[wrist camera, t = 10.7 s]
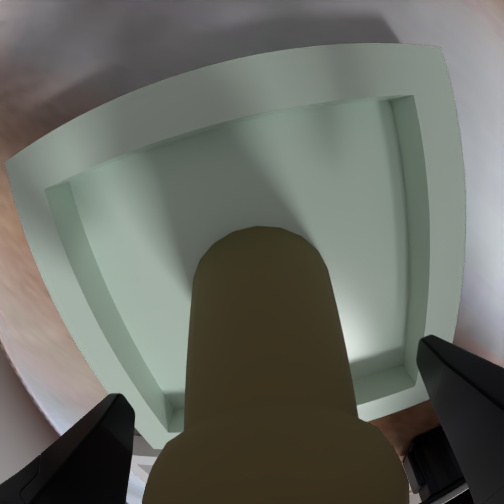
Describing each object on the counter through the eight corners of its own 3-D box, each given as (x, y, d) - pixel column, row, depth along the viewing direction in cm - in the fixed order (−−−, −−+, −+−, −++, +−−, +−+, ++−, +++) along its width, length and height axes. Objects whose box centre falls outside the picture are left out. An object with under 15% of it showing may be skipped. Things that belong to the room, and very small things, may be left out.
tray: (410, 58, 9) (440, 46, 7) (423, 369, 16) (438, 394, 13) (37, 155, 11) (4, 162, 8) (160, 421, 17) (153, 448, 15)
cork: (331, 220, 12) (525, 475, 1) (327, 340, 14) (390, 559, 3) (181, 232, 12) (23, 511, 1) (204, 350, 14) (168, 575, 4)
